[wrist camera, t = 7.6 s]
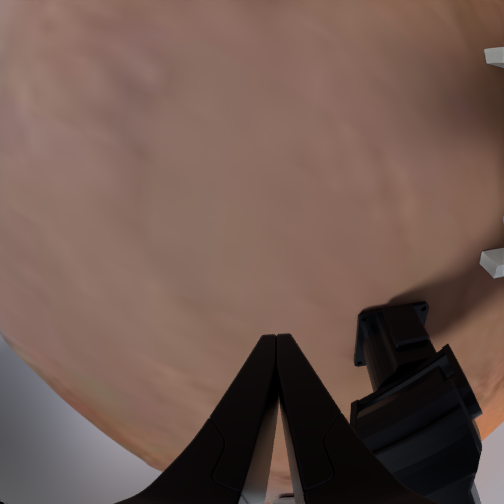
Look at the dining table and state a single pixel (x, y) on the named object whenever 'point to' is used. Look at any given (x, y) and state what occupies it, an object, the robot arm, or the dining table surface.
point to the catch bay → (499, 259)
